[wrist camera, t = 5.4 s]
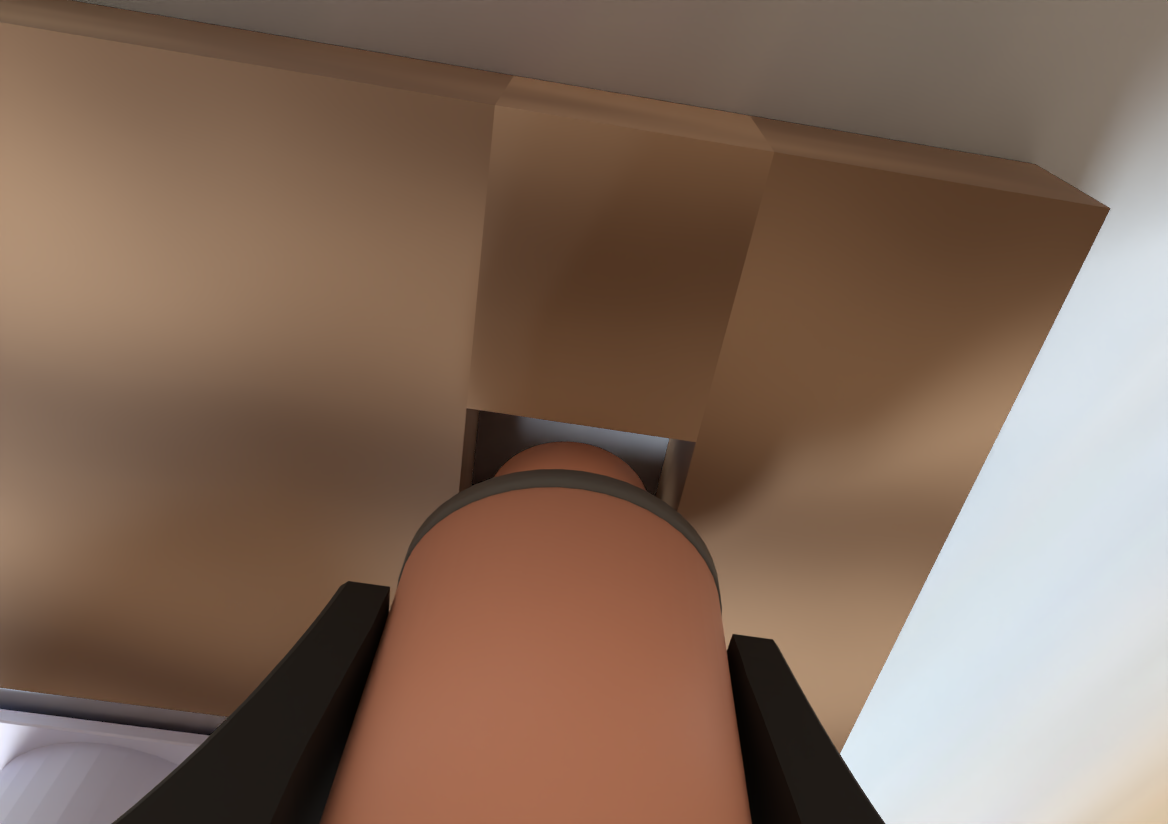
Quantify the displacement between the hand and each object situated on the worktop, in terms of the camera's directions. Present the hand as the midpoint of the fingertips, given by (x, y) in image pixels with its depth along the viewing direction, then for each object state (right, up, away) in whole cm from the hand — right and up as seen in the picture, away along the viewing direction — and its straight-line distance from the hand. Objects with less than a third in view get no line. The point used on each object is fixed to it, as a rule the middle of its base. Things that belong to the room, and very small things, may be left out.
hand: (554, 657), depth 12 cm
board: (-3, +3, +5) cm, 7 cm away
